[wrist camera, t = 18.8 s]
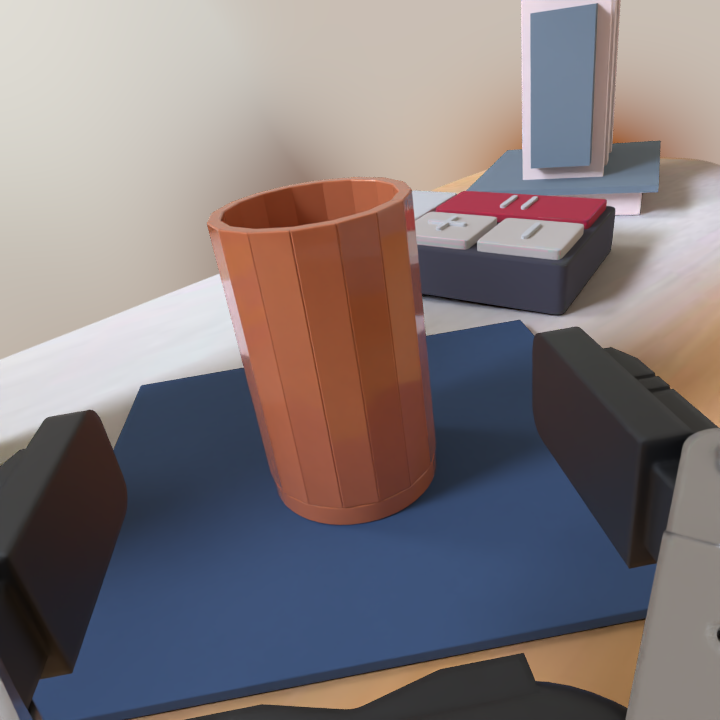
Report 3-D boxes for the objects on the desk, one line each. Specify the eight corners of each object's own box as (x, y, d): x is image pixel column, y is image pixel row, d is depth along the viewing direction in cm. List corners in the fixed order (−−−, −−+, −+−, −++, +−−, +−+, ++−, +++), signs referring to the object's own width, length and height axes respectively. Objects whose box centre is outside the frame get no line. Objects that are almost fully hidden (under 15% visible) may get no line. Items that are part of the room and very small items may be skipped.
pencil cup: (274, 540, 20) (195, 246, 15) (277, 437, 25) (219, 196, 20) (454, 508, 20) (429, 208, 15) (419, 412, 25) (393, 168, 21)
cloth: (-4, 745, 15) (-10, 736, 15) (143, 391, 31) (140, 385, 31) (756, 597, 16) (759, 587, 16) (520, 326, 32) (520, 319, 32)
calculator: (568, 250, 30) (326, 225, 38) (561, 327, 32) (334, 288, 40) (619, 193, 38) (410, 182, 46) (611, 258, 40) (413, 237, 48)
